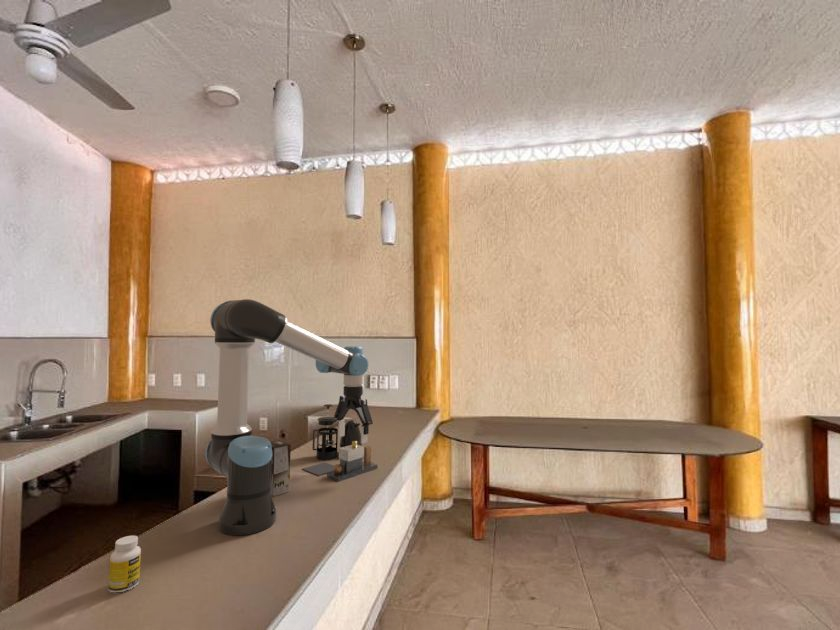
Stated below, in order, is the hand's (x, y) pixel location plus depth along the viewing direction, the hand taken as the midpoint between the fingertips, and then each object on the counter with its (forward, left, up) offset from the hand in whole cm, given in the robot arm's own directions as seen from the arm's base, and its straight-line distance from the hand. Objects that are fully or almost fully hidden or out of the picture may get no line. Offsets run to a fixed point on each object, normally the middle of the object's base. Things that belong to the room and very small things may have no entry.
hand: (352, 439), depth 160 cm
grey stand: (+1, 0, -13) cm, 13 cm away
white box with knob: (0, 0, -7) cm, 7 cm away
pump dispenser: (+17, +20, -13) cm, 29 cm away
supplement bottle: (-79, -18, -13) cm, 82 cm away
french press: (+6, +24, -13) cm, 28 cm away
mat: (-5, +12, -13) cm, 18 cm away
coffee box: (-29, +6, -13) cm, 33 cm away
